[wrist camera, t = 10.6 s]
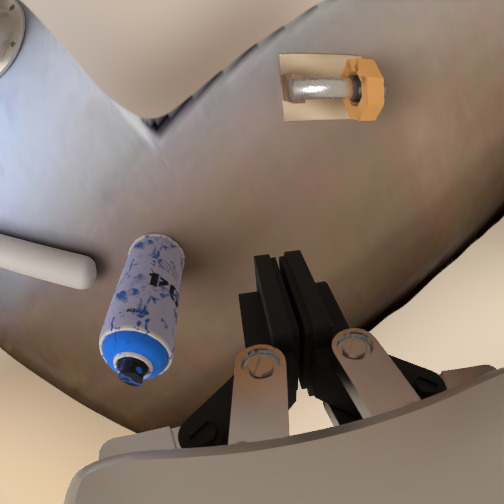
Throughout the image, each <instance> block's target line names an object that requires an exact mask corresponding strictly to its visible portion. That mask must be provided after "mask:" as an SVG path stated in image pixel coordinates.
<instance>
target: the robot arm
mask: <svg viewBox="0 0 504 504" xmlns="http://www.w3.org/2000/svg"><path fill="white" fill-rule="evenodd" d="M24 31H25V14H24V11H23V8H22V6H21V5H20V3H19V2H18V1H16V0H0V76H1V75H2V74H3V73H4V72H5V71H6V70H7V69H8V68H9V66H10V65H11V64H12V62H13V60H14V59H15V57H16V55H17V53H18V51H19V49H20V46H21V43H22V40H23V36H24ZM254 264H255V274H256V285H257V292H251V293H243V294H238V295H239V302H240V310H241V317H242V325H243V332H244V339H245V346H246V349H245V350H243V351H242V352H241V353H240V354H239V356H238V357H237V359H236V363H235V371H234V375H233V376H232V377H231V378H230V379H229V380H228V381H227V382H226V383H225V384H224V385H223V386H222V387H221V388H220V389H219V390H218V391H217V392H216V393H215V394H214V395H213V396H211V397H210V398H209V399H208V400H207V401H206V402H205V403H204V404H203V405H202V406H201V407H200V408H199V409H198V410H196V411H195V412H194V413H193V414H192V415H191V416H190V417H189V418H188V419H187V420H185V422H184V423H183V424H182V425H181V426H180V427H176V428H172V429H171V428H170V427H169V426H168V427H164V428H160V429H156V430H151V431H147V432H142V433H138V434H133V435H128V436H123V437H117V438H113V439H111V440H108V441H107V442H106V443H104V444H103V445H102V447H101V449H100V452H99V460H98V461H96V462H93V463H91V464H89V465H88V466H85V467H84V468H83V469H81V470H79V471H78V472H77V473H76V475H75V476H74V477H73V479H72V481H71V483H70V485H69V488H68V490H67V494H66V497H65V502H64V504H504V368H500V369H496V368H494V367H493V366H490V365H479V366H474V367H468V368H461V369H455V370H448V371H442V372H441V374H439V375H438V374H437V373H435V372H433V371H431V370H428V369H425V368H422V367H420V366H417V365H414V364H411V363H409V362H406V361H404V360H401V359H398V358H396V357H393V356H391V355H388V354H387V353H386V351H385V350H384V349H383V347H382V346H381V345H380V344H379V342H378V341H377V339H376V338H375V337H374V336H373V335H372V334H371V333H369V332H367V331H365V330H362V329H356V328H349V326H348V324H347V322H346V320H345V318H344V316H343V314H342V312H341V310H340V308H339V306H338V304H337V302H336V300H335V298H334V296H333V294H332V292H331V290H330V288H329V286H328V284H327V283H326V282H325V281H324V282H318V283H315V282H314V280H313V277H312V275H311V273H310V271H309V269H308V267H307V264H306V262H305V260H304V258H303V256H302V254H301V252H300V250H296V251H289V252H285V253H284V256H281V257H279V267H280V270H279V267H278V264H277V261H276V258H275V257H274V258H270V256H269V254H267V255H259V256H254ZM298 378H299V381H300V385H301V388H302V389H305V388H307V390H308V394H309V396H315V397H316V398H318V399H320V400H322V401H323V404H324V408H325V410H326V412H327V414H328V416H329V418H330V419H331V422H332V423H333V425H334V427H330V428H326V429H322V430H317V431H312V432H308V433H303V434H298V435H293V436H289V418H288V417H289V415H288V410H289V409H290V408H291V406H292V405H293V404H294V403H295V401H296V390H298Z"/></svg>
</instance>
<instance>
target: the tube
mask: <svg viewBox="0 0 504 504" xmlns="http://www.w3.org/2000/svg"><path fill="white" fill-rule="evenodd" d="M0 267H1V268H5V269H8V270H11V271H15V272H18V273H21V274H25V275H28V276H32V277H35V278H39V279H42V280H46V281H49V282H53V283H57V284H61V285H64V286H68V287H72V288H76V289H80V290H81V289H87V288H92V286H93V284H94V281H95V278H96V276H97V270H96V265H95V262H94V261H93V260H92V259H91V258H90V257H88V256H85V255H81V254H76V253H72V252H68V251H64V250H60V249H56V248H52V247H48V246H44V245H40V244H37V243H33V242H29V241H25V240H21V239H18V238H14V237H10V236H6V235H3V234H0Z"/></svg>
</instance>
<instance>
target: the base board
mask: <svg viewBox="0 0 504 504" xmlns="http://www.w3.org/2000/svg"><path fill="white" fill-rule="evenodd" d="M357 58H361V59H362V56H350V55H331V54H279V66H280V79H281V92H282V106H283V121H299V120H323V119H354V118H351V117H349V115H348V112H347V109H346V107H345V104H344V102H343V99H325V100H305V99H297V100H291V98H290V94H289V79H290V77H291V78H304V77H341V75H342V73H343V70H344V67H345V64H346V61H347V59H357Z"/></svg>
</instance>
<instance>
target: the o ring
mask: <svg viewBox="0 0 504 504" xmlns="http://www.w3.org/2000/svg"><path fill="white" fill-rule="evenodd" d="M351 75H358V76H359V79H360V81H361V90H362V98H361V100H360V102H352V101H351V100H344V99H343V102H344V104H345V107H346V109H347V112H348V115H349V117H351V118H354V119H357V120H360V121H375V120H376V118H377V117H378V115H379V113H380V111H381V109H382V108H383V106H384V78H383V76H382V74H381V72H380V70H379V69H378V67H377V65H376V63H375V61H374V60H372V59H361V58H357V59H347V61H346V64H345V67H344V70H343V73H342V75H341V77H345V78H349V77H350V76H351Z"/></svg>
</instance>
